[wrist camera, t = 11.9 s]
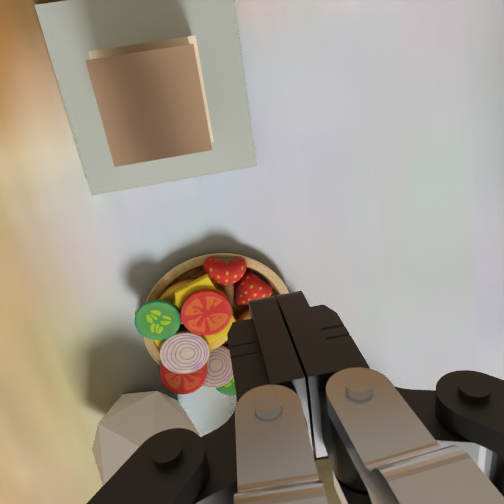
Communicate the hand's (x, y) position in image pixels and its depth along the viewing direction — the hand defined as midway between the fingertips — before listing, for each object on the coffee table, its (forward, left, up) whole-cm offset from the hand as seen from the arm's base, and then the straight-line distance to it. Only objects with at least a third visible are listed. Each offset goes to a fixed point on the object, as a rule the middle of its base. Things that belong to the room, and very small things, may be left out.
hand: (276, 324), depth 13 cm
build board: (+3, -5, -23) cm, 23 cm away
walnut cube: (+3, -5, -18) cm, 19 cm away
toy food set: (+2, +14, -23) cm, 27 cm away
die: (+10, +22, -23) cm, 33 cm away
